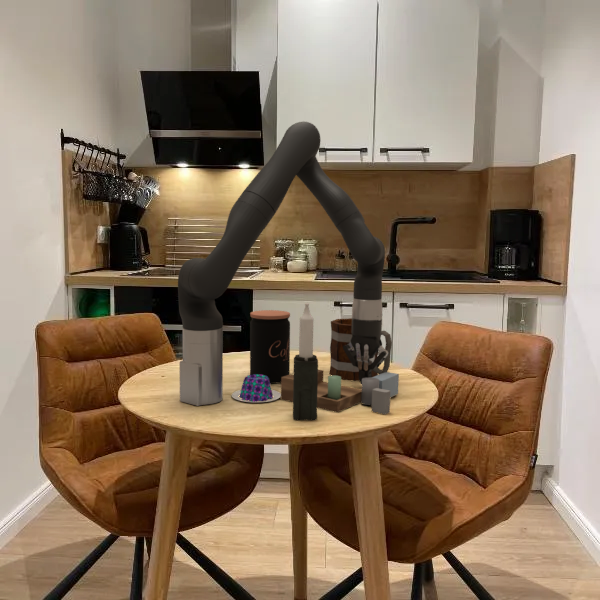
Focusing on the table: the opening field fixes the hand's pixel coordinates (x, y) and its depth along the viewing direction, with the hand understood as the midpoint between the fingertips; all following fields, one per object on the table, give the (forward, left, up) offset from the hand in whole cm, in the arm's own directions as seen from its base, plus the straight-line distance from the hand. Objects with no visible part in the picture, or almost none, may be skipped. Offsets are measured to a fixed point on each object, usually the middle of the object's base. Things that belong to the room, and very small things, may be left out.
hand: (364, 383), depth 151 cm
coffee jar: (-7, +25, -2) cm, 26 cm away
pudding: (-22, +17, -2) cm, 28 cm away
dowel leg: (-17, -2, -2) cm, 17 cm away
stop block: (-14, -12, -2) cm, 18 cm away
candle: (-27, -1, -2) cm, 27 cm away
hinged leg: (-6, -7, -1) cm, 9 cm away
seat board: (-14, +3, -2) cm, 15 cm away
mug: (+11, +7, -2) cm, 13 cm away
